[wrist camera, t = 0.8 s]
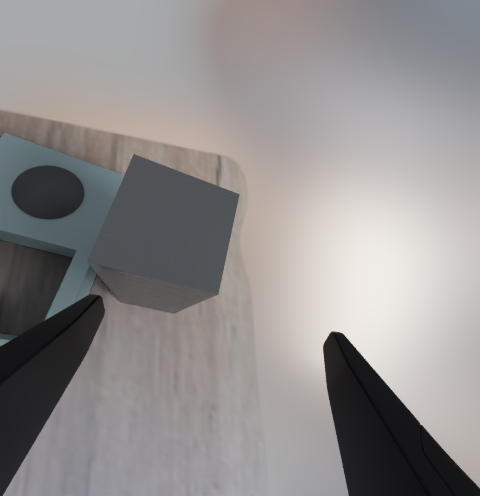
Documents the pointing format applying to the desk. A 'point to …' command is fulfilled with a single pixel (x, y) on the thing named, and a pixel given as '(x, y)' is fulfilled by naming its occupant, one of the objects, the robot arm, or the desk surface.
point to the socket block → (54, 209)
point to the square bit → (164, 238)
